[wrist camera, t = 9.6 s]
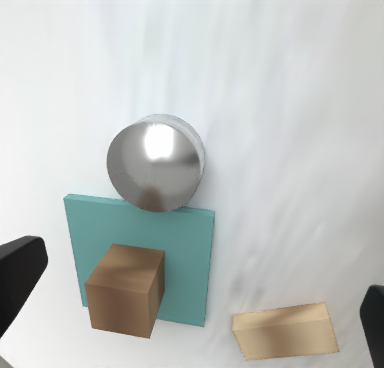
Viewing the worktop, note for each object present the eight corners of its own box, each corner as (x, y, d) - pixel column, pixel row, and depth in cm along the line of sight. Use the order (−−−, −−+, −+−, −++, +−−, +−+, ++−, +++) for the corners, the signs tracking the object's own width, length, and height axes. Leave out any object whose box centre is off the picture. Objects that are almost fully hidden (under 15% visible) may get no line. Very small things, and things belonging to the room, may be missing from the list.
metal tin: (207, 116, 18) (202, 125, 15) (203, 196, 20) (198, 216, 17) (121, 111, 18) (101, 119, 16) (127, 189, 21) (111, 207, 18)
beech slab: (322, 298, 22) (330, 318, 21) (331, 330, 24) (339, 352, 22) (232, 311, 25) (232, 330, 23) (245, 340, 26) (245, 360, 24)
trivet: (214, 211, 20) (213, 216, 19) (204, 319, 25) (203, 327, 24) (69, 193, 22) (63, 198, 21) (87, 299, 27) (82, 305, 26)
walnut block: (164, 250, 21) (147, 293, 17) (164, 291, 23) (149, 338, 19) (112, 243, 22) (84, 283, 18) (116, 283, 24) (91, 328, 20)
